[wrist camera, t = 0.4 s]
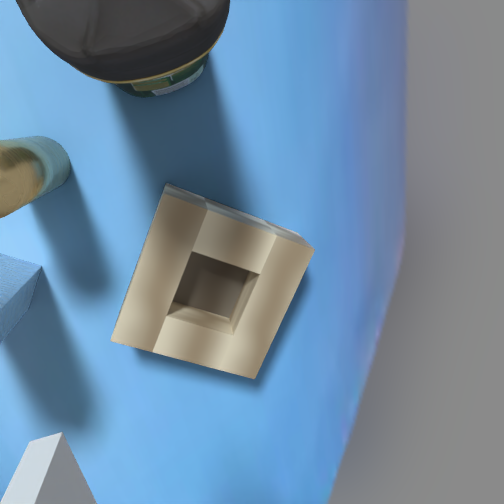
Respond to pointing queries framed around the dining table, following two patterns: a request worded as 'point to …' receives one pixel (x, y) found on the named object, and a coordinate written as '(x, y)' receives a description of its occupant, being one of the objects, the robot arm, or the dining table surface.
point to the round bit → (30, 170)
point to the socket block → (211, 284)
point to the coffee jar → (131, 39)
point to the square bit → (15, 291)
